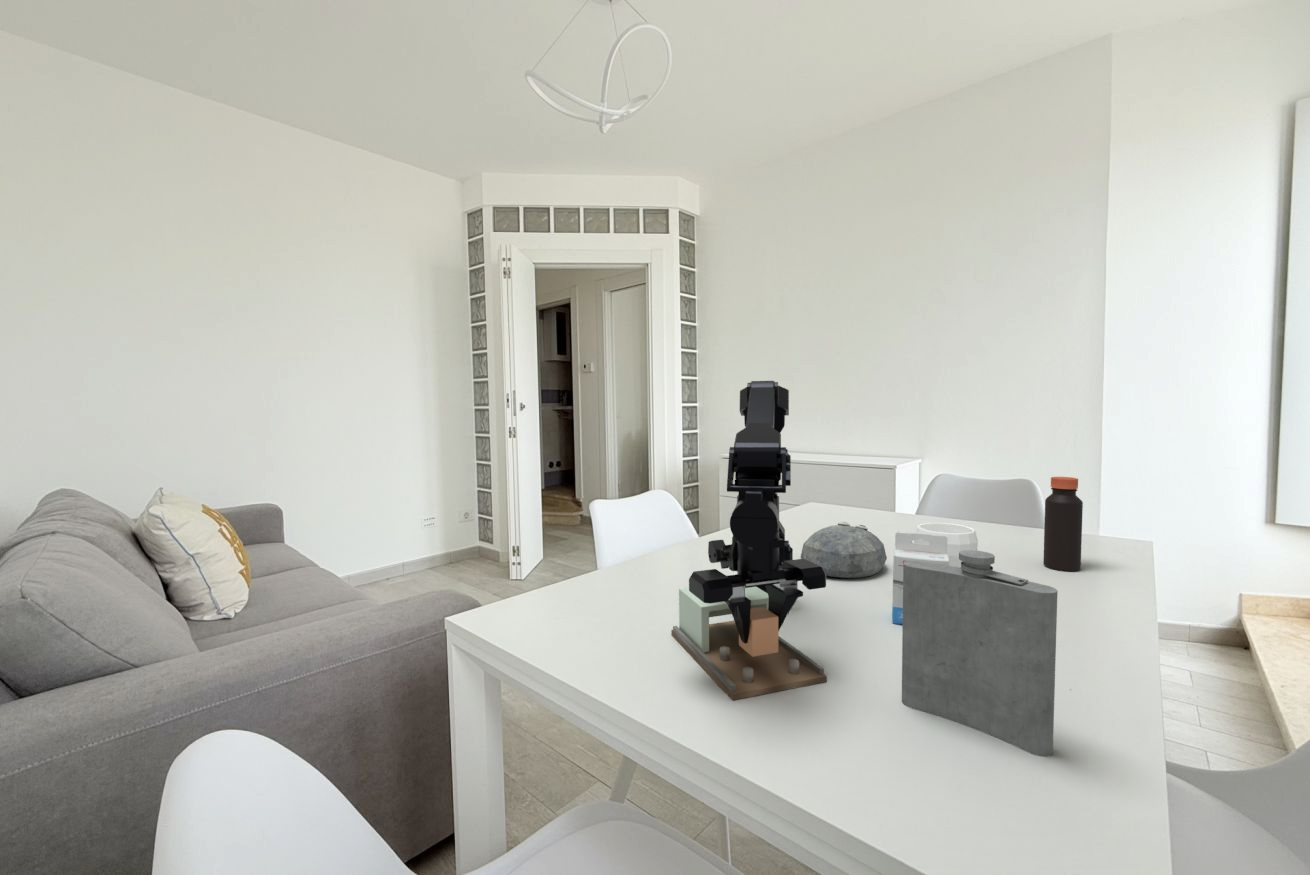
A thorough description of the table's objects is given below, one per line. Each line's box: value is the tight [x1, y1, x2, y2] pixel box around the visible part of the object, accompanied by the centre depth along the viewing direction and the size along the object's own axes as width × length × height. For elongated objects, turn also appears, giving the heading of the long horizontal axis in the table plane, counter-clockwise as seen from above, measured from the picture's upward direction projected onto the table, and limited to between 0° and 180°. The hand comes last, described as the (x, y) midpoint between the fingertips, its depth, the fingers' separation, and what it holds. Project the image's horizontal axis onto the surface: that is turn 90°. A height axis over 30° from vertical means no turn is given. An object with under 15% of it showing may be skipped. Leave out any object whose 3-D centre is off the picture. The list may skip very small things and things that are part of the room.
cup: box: [913, 522, 979, 568], centre depth 125 cm, size 12×12×10 cm
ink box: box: [891, 531, 949, 626], centre depth 97 cm, size 9×5×15 cm, turn 65°
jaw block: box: [739, 607, 779, 657], centre depth 80 cm, size 4×4×5 cm
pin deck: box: [670, 620, 828, 701], centre depth 85 cm, size 14×22×2 cm, turn 19°
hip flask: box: [901, 550, 1058, 757], centre depth 66 cm, size 16×4×20 cm, turn 43°
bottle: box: [1042, 476, 1084, 572], centre depth 127 cm, size 7×7×20 cm
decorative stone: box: [800, 521, 888, 579], centre depth 129 cm, size 18×21×10 cm
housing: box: [678, 587, 769, 653], centre depth 90 cm, size 12×9×7 cm
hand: (758, 639), depth 80 cm, fingers closed on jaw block, 4 cm apart
